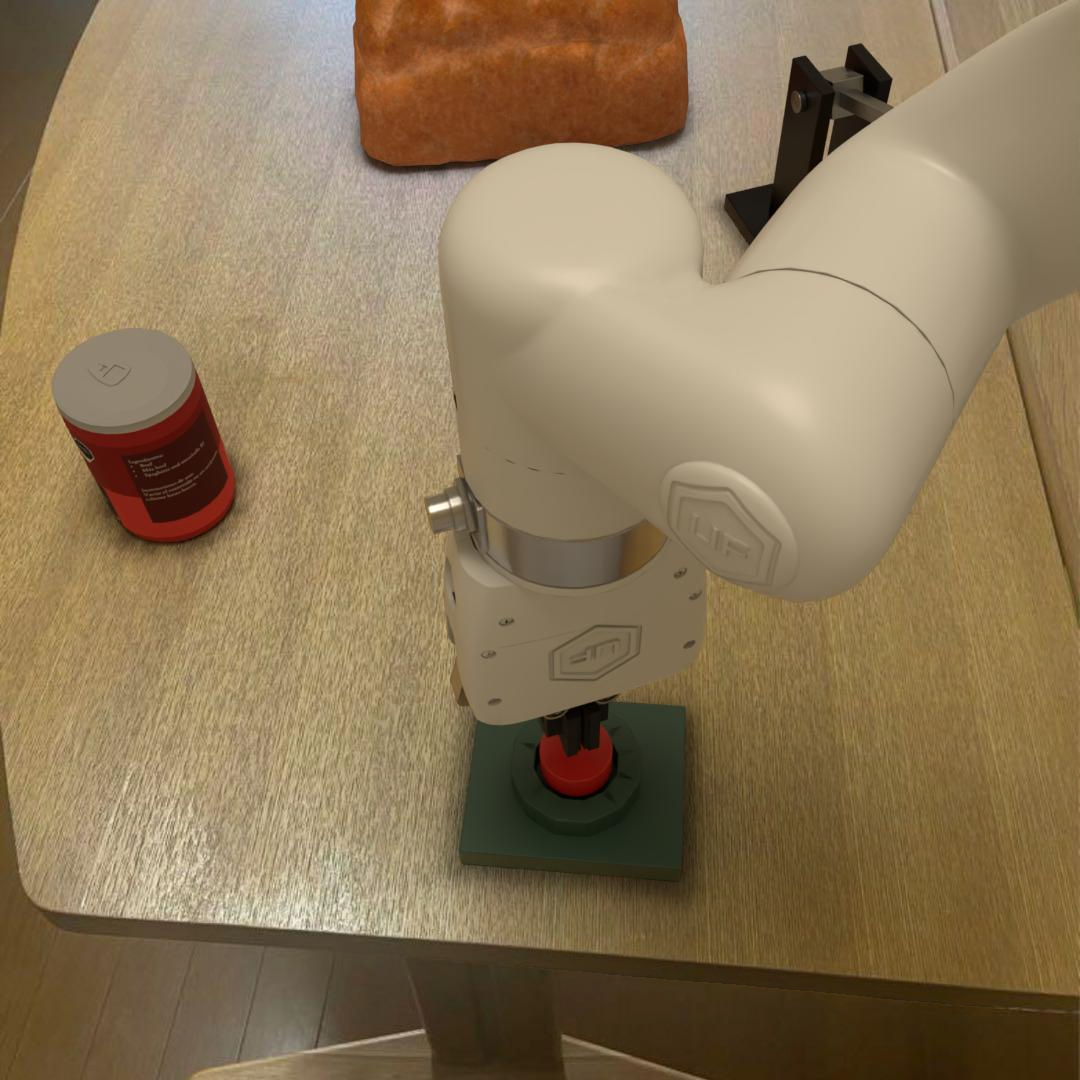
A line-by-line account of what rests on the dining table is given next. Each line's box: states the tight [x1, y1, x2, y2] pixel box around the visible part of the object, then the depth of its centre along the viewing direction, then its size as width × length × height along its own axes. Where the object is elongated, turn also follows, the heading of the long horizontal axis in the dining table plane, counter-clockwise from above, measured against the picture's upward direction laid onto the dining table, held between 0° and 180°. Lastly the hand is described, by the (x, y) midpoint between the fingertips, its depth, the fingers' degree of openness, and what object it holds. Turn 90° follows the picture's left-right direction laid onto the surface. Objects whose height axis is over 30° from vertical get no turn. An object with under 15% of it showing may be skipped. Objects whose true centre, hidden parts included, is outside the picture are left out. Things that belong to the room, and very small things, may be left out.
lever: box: [818, 65, 895, 123], centre depth 72 cm, size 18×5×2 cm, turn 18°
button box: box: [458, 700, 687, 882], centre depth 61 cm, size 11×9×4 cm
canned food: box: [51, 327, 236, 543], centre depth 71 cm, size 8×8×11 cm
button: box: [540, 725, 613, 796], centre depth 59 cm, size 4×4×2 cm
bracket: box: [723, 42, 894, 246], centre depth 82 cm, size 11×9×14 cm
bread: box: [352, 0, 690, 167], centre depth 92 cm, size 14×26×16 cm, turn 97°
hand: (572, 726), depth 57 cm, fingers closed
